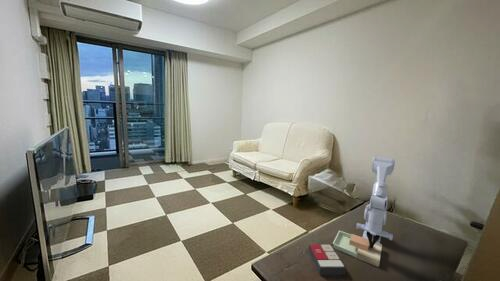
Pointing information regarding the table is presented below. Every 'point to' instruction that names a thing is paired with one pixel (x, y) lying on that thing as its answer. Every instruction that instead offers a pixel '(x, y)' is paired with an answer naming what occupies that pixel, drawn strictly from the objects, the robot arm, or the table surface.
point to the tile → (359, 242)
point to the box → (344, 244)
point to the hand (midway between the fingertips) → (371, 246)
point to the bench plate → (370, 254)
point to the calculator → (326, 260)
